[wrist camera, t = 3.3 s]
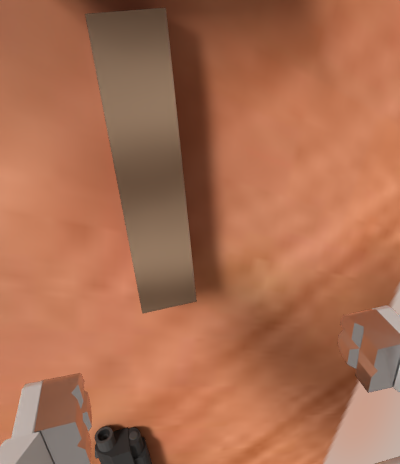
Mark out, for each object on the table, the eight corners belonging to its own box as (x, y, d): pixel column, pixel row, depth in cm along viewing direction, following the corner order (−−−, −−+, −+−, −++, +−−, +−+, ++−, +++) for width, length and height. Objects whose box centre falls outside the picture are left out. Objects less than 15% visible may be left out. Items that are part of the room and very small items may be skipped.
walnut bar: (184, 272, 24) (196, 301, 21) (136, 282, 23) (142, 313, 20) (154, 12, 17) (165, 7, 14) (86, 17, 16) (85, 13, 14)
